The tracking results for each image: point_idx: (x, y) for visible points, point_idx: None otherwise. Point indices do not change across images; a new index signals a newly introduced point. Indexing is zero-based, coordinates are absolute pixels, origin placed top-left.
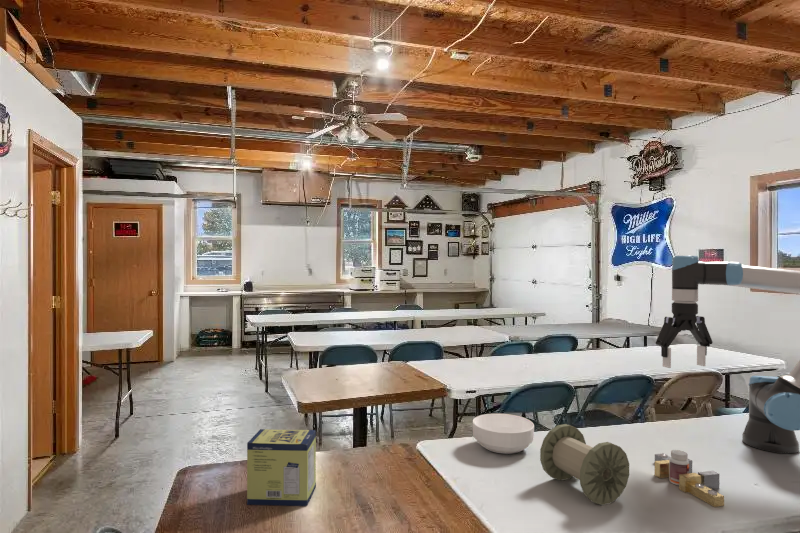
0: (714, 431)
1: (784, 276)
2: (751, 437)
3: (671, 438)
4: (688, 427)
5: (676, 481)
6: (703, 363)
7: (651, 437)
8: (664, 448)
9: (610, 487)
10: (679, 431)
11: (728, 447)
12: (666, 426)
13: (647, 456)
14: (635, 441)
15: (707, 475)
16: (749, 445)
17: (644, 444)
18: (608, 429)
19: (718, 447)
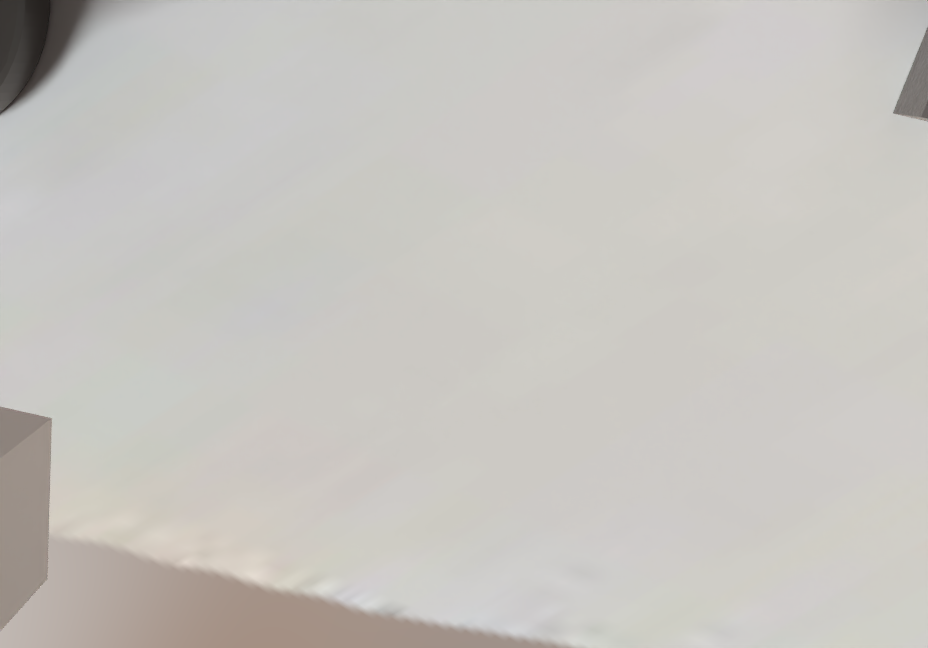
0: (27, 309)
1: None
2: (3, 5)
3: (427, 352)
4: (129, 428)
5: None
6: (5, 455)
7: (532, 418)
8: (648, 258)
9: None
10: (255, 408)
11: (219, 75)
12: (251, 498)
13: (894, 215)
14: (696, 417)
15: None
16: (47, 22)
17: (696, 359)
18: (646, 612)
19: (286, 107)
